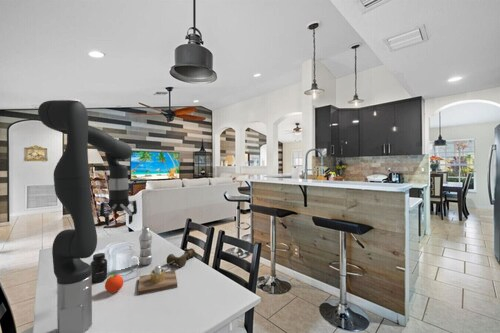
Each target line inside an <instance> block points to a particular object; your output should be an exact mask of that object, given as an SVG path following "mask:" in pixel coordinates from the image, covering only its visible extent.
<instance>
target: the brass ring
mask: <svg viewBox="0 0 500 333" xmlns="http://www.w3.org/2000/svg"><path fill="white" fill-rule="evenodd" d="M165 272H166V271H165V268H162V267H161V273H158V274H154V269H152V270H151V271H150V274H151V283H160V282H162V281H164V280H165Z"/></svg>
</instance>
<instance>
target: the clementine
mask: <svg viewBox="0 0 500 333" xmlns="http://www.w3.org/2000/svg"><path fill="white" fill-rule="evenodd" d="M106 279H107V280H106ZM106 279H105V280H104V281H105V284H104V289H105V290H106V291H107V292H108V293H111V294H112V293H116V292H118V291H120V290H121V289H122V287H123V285H124V278H123V276H121V275H120V274H111V275H107V278H106Z"/></svg>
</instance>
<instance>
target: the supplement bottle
mask: <svg viewBox="0 0 500 333" xmlns="http://www.w3.org/2000/svg"><path fill="white" fill-rule="evenodd" d="M89 265H90V266H91V269H92V284H98V283H101V282H104V281H106V280H105V279H108V260H107V258H106V254H105V253H104V252H97V253H95V254H92V261H90V263H89Z"/></svg>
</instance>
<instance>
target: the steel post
mask: <svg viewBox="0 0 500 333" xmlns="http://www.w3.org/2000/svg"><path fill="white" fill-rule="evenodd" d="M161 268H162V267H161V265H156V266H155V267H154V269H153V270H154V274H158V273H161Z"/></svg>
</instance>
